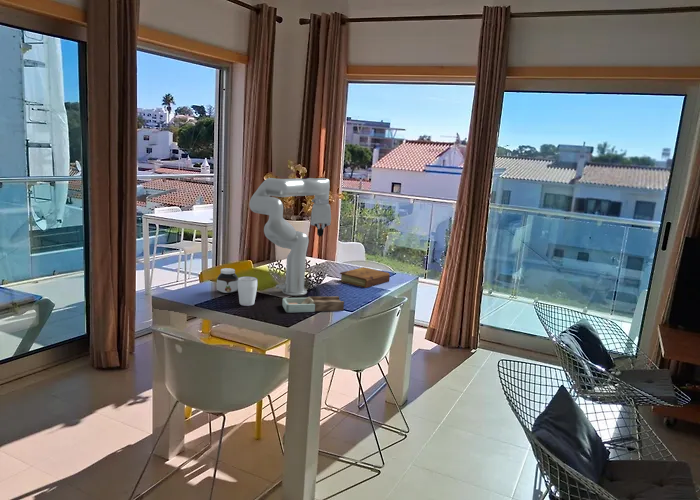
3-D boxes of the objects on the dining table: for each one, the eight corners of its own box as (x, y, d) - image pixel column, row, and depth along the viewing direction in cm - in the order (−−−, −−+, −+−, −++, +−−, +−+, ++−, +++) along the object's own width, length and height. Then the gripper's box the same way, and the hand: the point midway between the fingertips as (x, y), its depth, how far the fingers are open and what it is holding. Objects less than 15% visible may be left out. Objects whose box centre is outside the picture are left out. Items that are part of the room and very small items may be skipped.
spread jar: (215, 294, 262) (215, 270, 260) (221, 288, 273) (221, 265, 271) (239, 295, 262) (240, 272, 259) (244, 289, 273) (245, 267, 270)
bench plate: (314, 311, 245) (314, 302, 244) (309, 305, 254) (310, 296, 253) (343, 310, 249) (344, 301, 249) (338, 304, 258) (338, 296, 257)
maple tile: (306, 310, 246) (303, 306, 245) (304, 307, 251) (301, 303, 250) (314, 302, 246) (311, 299, 245) (312, 299, 251) (308, 296, 250)
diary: (366, 289, 293) (366, 279, 291) (339, 282, 304) (340, 272, 302) (389, 282, 311) (389, 272, 310) (363, 276, 322) (363, 266, 321)
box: (286, 312, 240) (286, 305, 240) (282, 305, 251) (282, 298, 250) (314, 311, 244) (315, 304, 244) (309, 304, 255) (309, 297, 254)
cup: (257, 301, 254) (258, 277, 252) (255, 307, 245) (256, 281, 243) (238, 300, 254) (239, 275, 251) (235, 306, 245) (236, 280, 242)
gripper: (308, 202, 277) (307, 237, 280) (337, 203, 281) (335, 237, 284) (306, 200, 284) (304, 234, 288) (333, 201, 288) (331, 234, 292)
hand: (319, 236), depth 286 cm, fingers closed
